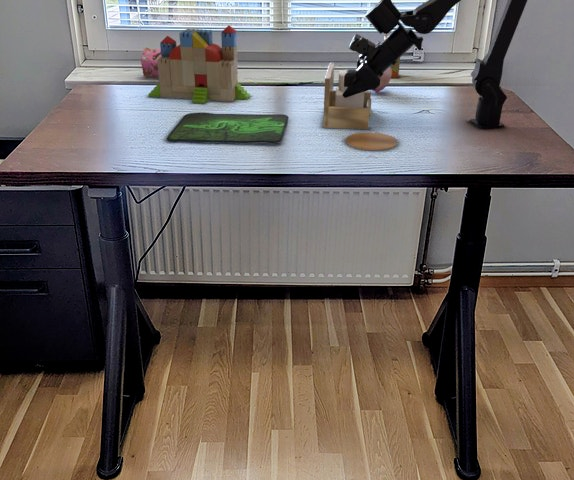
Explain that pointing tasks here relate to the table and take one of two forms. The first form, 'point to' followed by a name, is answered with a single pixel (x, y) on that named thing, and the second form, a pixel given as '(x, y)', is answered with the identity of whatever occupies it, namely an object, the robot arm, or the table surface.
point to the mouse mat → (230, 128)
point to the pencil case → (150, 62)
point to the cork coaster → (371, 141)
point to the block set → (199, 67)
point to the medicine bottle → (343, 83)
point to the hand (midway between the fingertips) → (344, 92)
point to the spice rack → (343, 108)
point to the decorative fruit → (384, 80)
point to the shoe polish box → (394, 66)
